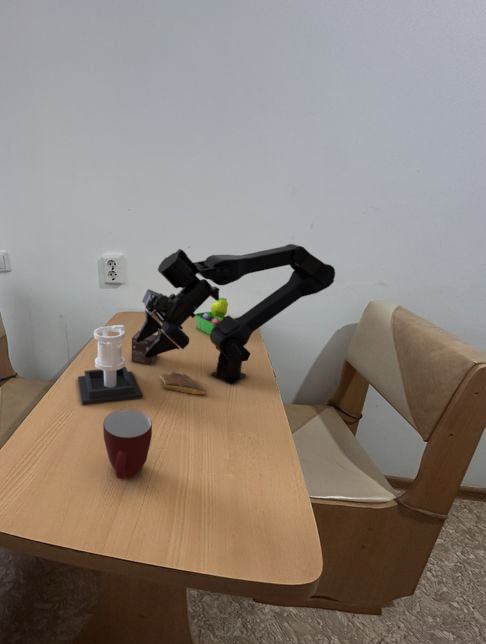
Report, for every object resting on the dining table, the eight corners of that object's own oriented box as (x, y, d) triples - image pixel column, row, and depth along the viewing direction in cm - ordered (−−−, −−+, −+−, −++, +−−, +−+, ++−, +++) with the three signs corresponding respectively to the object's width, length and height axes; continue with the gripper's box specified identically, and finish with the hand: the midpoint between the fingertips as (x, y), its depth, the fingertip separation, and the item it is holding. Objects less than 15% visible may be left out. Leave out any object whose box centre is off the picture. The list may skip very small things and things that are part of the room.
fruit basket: (192, 327, 129) (195, 296, 124) (213, 323, 132) (216, 292, 127) (212, 339, 119) (215, 305, 114) (234, 334, 123) (238, 301, 118)
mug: (150, 499, 59) (151, 449, 55) (100, 497, 60) (98, 447, 56) (150, 454, 69) (152, 409, 65) (107, 453, 69) (106, 408, 65)
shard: (205, 396, 88) (206, 389, 87) (177, 403, 85) (177, 396, 84) (182, 376, 97) (182, 369, 96) (155, 381, 94) (156, 375, 93)
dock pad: (131, 374, 98) (131, 364, 97) (142, 398, 87) (142, 387, 86) (78, 379, 95) (77, 370, 94) (82, 405, 84) (81, 394, 83)
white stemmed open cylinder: (128, 388, 89) (129, 330, 83) (100, 394, 87) (98, 334, 81) (119, 375, 95) (118, 320, 89) (92, 380, 93) (90, 323, 87)
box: (131, 361, 105) (130, 337, 102) (138, 353, 110) (138, 330, 107) (151, 365, 103) (152, 340, 99) (158, 356, 108) (159, 333, 105)
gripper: (154, 269, 91) (110, 315, 93) (177, 288, 74) (123, 344, 77) (183, 298, 95) (141, 341, 98) (211, 323, 79) (159, 374, 81)
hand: (140, 348), depth 88 cm, fingers open, 9 cm apart
